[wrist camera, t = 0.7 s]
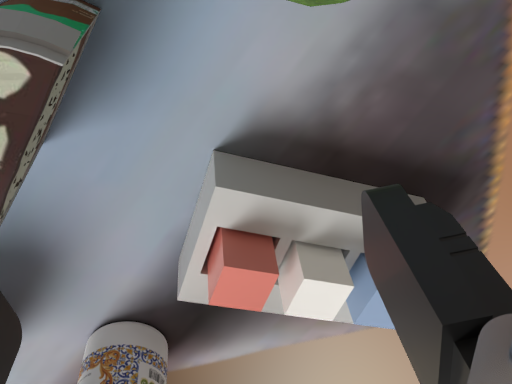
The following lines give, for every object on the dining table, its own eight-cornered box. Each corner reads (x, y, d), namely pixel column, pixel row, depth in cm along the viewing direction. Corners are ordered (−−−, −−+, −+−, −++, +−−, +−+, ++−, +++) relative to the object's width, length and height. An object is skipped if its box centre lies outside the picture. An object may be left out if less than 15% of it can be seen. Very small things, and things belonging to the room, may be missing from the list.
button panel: (213, 150, 30) (215, 186, 26) (423, 197, 34) (447, 233, 31) (178, 259, 35) (177, 300, 32) (363, 288, 39) (378, 327, 36)
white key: (291, 230, 31) (304, 278, 28) (336, 238, 32) (354, 286, 28) (275, 265, 33) (284, 314, 29) (318, 272, 34) (332, 321, 30)
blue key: (357, 242, 32) (376, 290, 29) (398, 250, 33) (422, 297, 30) (337, 275, 34) (353, 323, 31) (377, 282, 35) (397, 329, 32)
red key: (220, 217, 30) (223, 265, 26) (269, 226, 31) (279, 274, 27) (207, 254, 32) (208, 304, 28) (253, 261, 32) (260, 311, 29)
